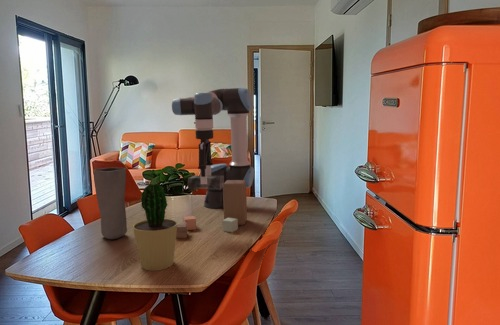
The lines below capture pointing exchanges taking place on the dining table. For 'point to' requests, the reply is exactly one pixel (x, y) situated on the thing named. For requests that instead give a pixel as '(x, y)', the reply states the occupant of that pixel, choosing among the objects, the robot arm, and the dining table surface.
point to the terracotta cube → (190, 222)
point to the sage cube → (230, 224)
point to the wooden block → (235, 200)
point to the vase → (111, 201)
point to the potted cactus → (155, 231)
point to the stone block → (212, 182)
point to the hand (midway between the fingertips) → (206, 181)
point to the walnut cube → (181, 231)
